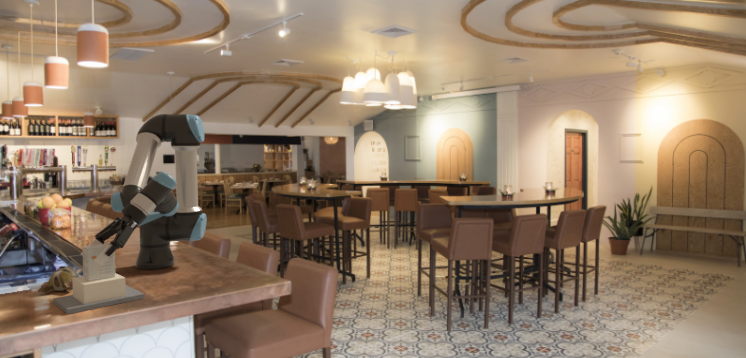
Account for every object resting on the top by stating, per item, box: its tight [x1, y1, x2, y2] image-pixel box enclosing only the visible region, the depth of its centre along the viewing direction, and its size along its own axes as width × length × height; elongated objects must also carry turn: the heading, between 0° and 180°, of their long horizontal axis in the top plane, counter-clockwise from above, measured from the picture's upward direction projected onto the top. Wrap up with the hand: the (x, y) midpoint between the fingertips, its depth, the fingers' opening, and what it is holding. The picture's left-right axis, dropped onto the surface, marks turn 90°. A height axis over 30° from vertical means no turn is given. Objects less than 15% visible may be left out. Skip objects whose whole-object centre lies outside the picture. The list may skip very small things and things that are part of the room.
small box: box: [82, 242, 116, 281], centre depth 154 cm, size 8×6×10 cm
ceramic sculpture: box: [37, 264, 80, 293], centre depth 167 cm, size 11×9×15 cm
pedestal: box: [52, 272, 145, 315], centre depth 154 cm, size 16×22×8 cm
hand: (90, 260), depth 152 cm, fingers open, 13 cm apart
